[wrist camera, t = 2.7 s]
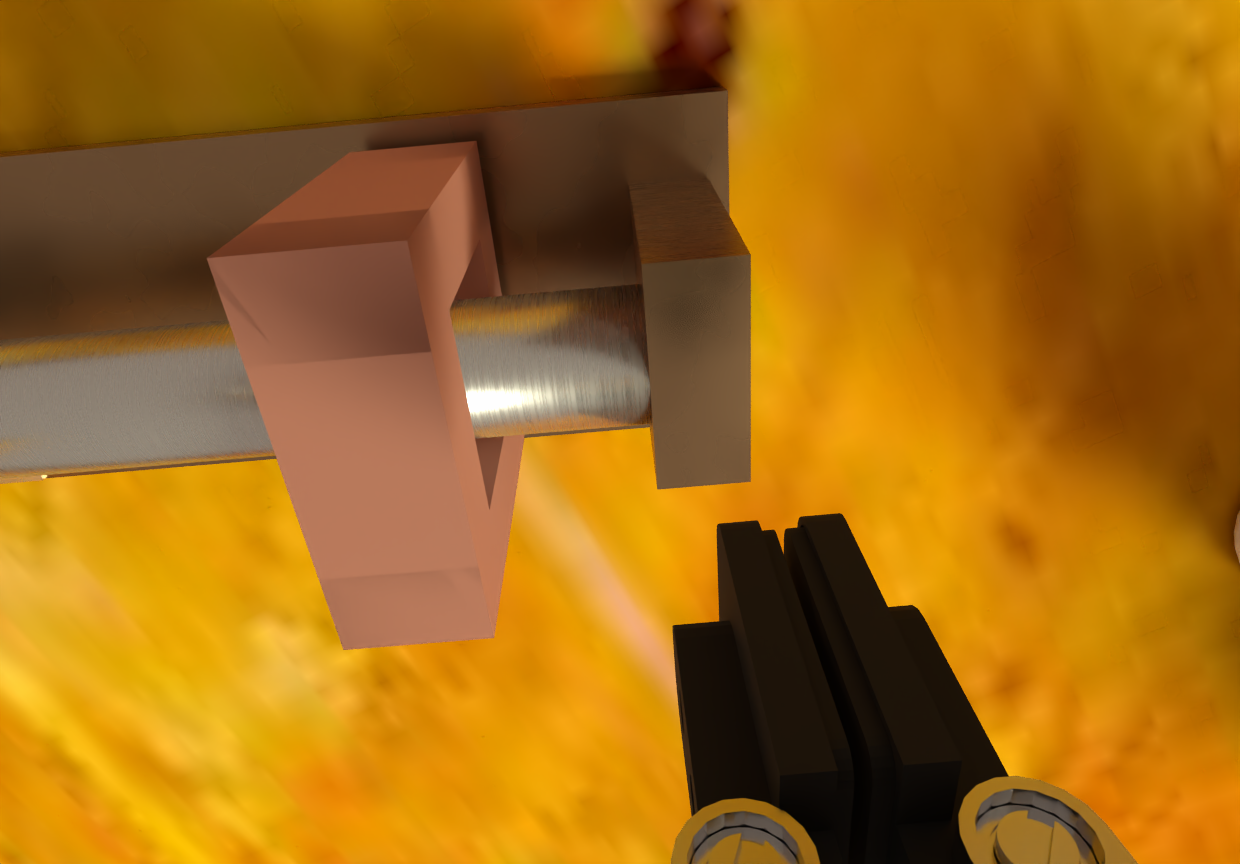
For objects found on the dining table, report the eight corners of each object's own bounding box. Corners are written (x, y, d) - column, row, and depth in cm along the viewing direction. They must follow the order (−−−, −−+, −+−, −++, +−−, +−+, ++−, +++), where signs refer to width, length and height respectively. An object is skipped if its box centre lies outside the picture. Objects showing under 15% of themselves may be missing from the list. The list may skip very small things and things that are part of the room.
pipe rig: (-502, 198, 20) (-981, 298, 14) (722, 86, 20) (781, 138, 14) (-274, 492, 25) (-562, 664, 19) (728, 407, 24) (773, 556, 18)
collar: (349, 152, 19) (206, 258, 12) (476, 140, 19) (407, 240, 12) (420, 443, 23) (343, 649, 16) (524, 434, 23) (494, 637, 16)
